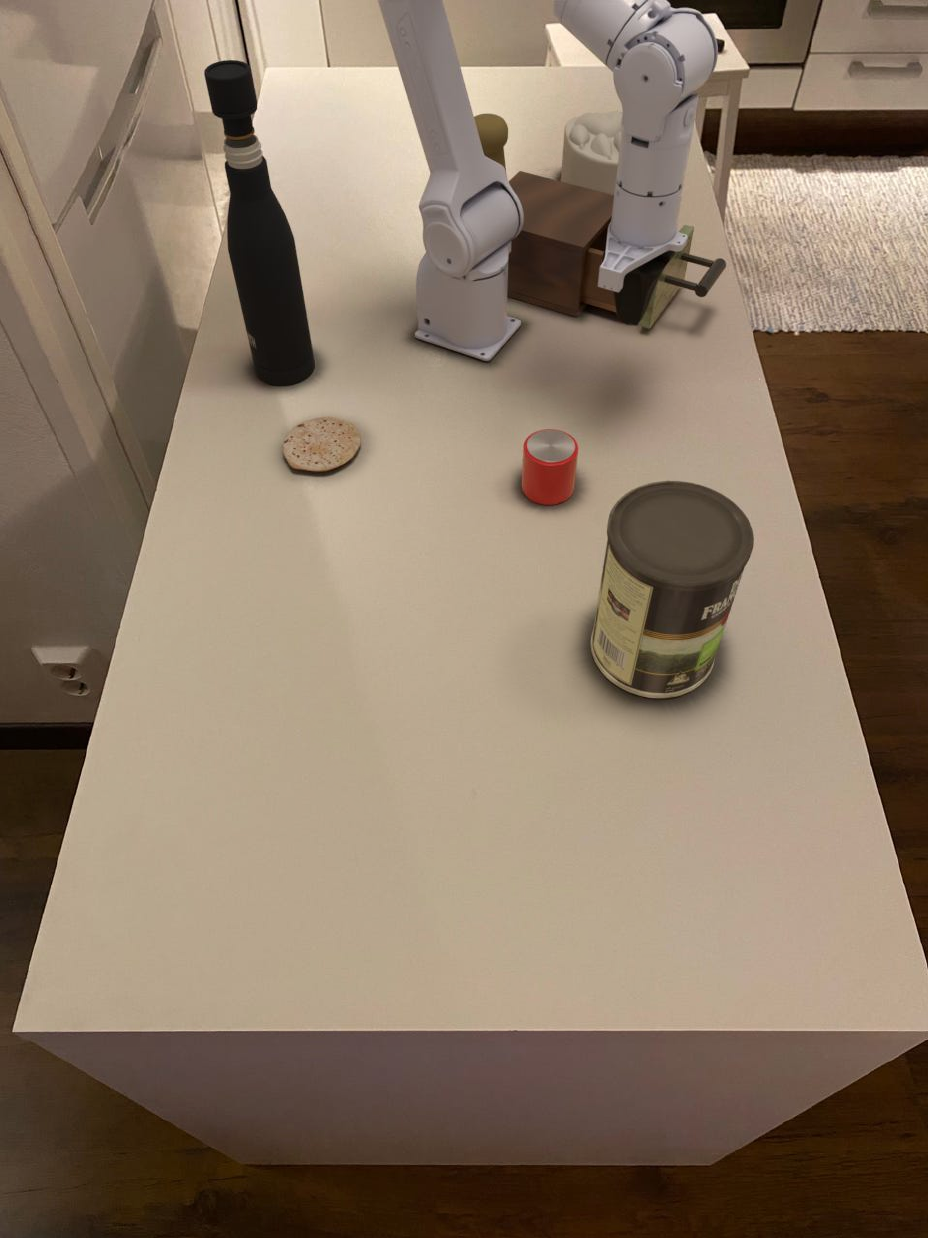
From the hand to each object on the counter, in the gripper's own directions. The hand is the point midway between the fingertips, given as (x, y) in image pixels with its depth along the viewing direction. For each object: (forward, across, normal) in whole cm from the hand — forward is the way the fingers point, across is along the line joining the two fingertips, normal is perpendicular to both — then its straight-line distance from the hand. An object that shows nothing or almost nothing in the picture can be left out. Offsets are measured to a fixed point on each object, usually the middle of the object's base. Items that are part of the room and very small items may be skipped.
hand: (629, 319), depth 91 cm
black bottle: (+10, -12, +34) cm, 37 cm away
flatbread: (+9, -21, +23) cm, 33 cm away
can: (+9, -15, +1) cm, 18 cm away
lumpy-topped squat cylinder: (+10, +38, +18) cm, 43 cm away
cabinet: (+9, +17, +16) cm, 25 cm away
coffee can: (+10, -28, -15) cm, 34 cm away
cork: (+10, +28, +30) cm, 42 cm away
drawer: (+9, +17, +5) cm, 19 cm away
